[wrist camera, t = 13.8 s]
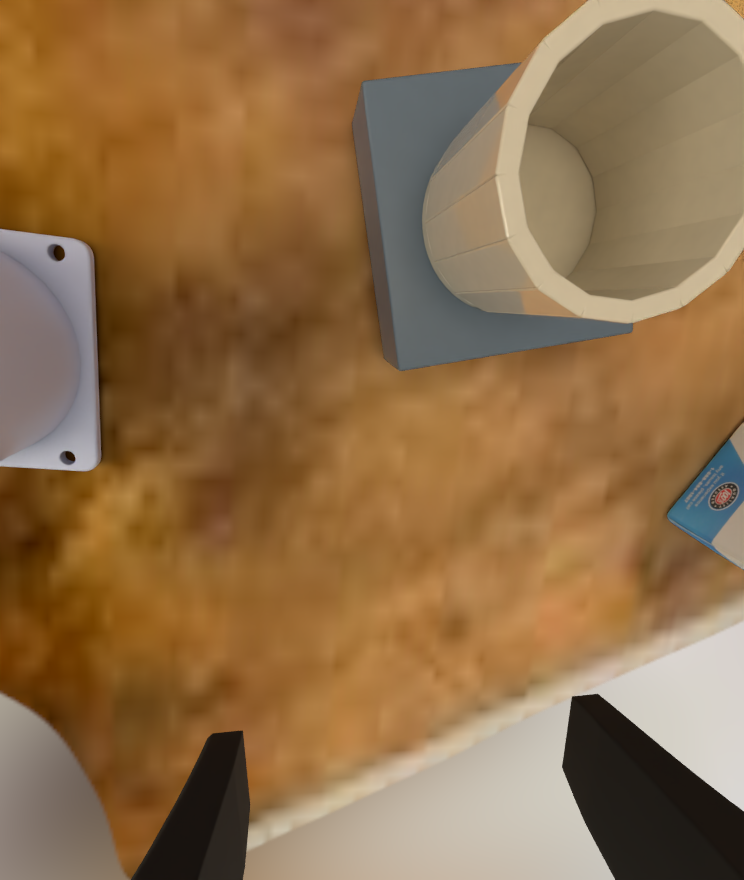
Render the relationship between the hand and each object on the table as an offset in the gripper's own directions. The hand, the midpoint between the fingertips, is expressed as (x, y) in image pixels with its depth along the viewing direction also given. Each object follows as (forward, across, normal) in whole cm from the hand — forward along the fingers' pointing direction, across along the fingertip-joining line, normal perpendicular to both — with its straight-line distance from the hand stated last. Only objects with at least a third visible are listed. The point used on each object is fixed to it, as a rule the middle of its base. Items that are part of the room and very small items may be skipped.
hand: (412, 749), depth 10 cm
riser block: (+10, -4, -12) cm, 16 cm away
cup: (+7, -4, -12) cm, 14 cm away
